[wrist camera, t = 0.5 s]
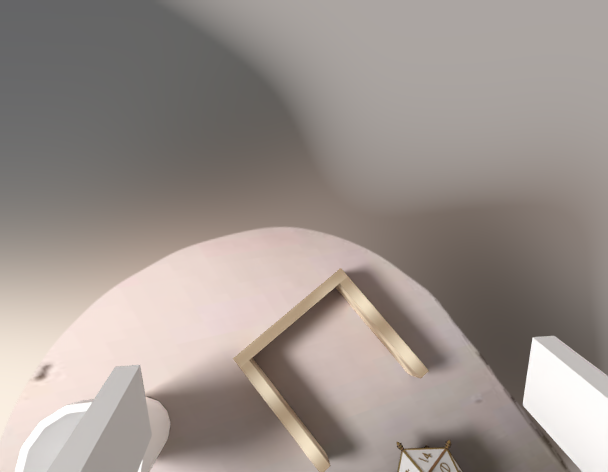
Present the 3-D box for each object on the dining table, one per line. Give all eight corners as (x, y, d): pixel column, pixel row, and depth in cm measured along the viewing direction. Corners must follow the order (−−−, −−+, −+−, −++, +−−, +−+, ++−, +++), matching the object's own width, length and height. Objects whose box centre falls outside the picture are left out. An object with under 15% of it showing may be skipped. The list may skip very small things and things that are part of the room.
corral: (416, 367, 45) (428, 370, 41) (317, 461, 42) (321, 474, 38) (336, 273, 47) (340, 268, 43) (237, 356, 44) (232, 358, 40)
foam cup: (183, 377, 43) (141, 395, 31) (187, 468, 41) (144, 528, 29) (95, 389, 43) (16, 412, 30) (95, 482, 40) (9, 550, 28)
